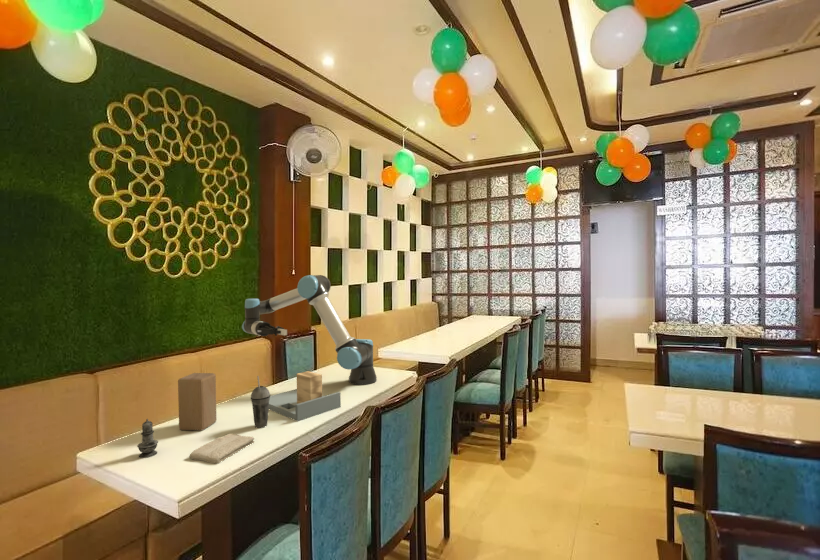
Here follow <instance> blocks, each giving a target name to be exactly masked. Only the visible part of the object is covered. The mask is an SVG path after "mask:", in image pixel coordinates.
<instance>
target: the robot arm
mask: <svg viewBox="0 0 820 560" xmlns="http://www.w3.org/2000/svg"><path fill="white" fill-rule="evenodd" d="M331 287H332V285H331V281H330V279H329V278H328V277H327V276H325V275H322V274H315V275H313V274H308V275H305V276H303V277H301V278H299V281H298V283H297V287H296V288H294V289H291V290H289V291H286V292H284V293H280V294H278V295H276V296H274V297H270V298H268V299H266V300H260V299H259V298H246V299H245V300H244V321H243V323H242V325H241V329H242V331H243V332H245V333H247V334H250V335H251V334H252V335H256V336H258V337H260V336H261V337H266V336H268V335H274V336H278V335H279V336H288V329H285V328H284V327H282V326H281V325H277V326H276V327H275V326H274V325H271V324H270V323H269V322H266V321H261V320H260V319H261V318H260V317H261V316H260V315H265V314H272V313H273V312H274V313H275V311H277V310H280V309H283V308H285V307H288V306H291V305H294V304H297V303H299V302H302V301H304V300H306V301H307V302H308V304H309V305H311V306H313V308H314V309H315V311H316V312H317V314H318V316H319V318H320V319H321V321H322V323H323V325H324V326H325V328H326V330H327V332H328V333H329V335H330V337H331V339H332V340H333V342H334V344H335V348H334V350H335V352H336V353H337V354H336V362H337V363H338V365H339V366H340V367H341V368H342V369H345V370H350V373H349V377H348V383H350V384H353V385H358V386H359V385H360V386H361V385H363V386H364V385H370V384H375V383H376V382H377V380H378V379H377V375H376V374H377V373H376V372H375V368H374V342H373V340H372V339H369V338H368V339H367V338H366V339H365V338H356V337H353V336H351V335H350V333H349V331H348V330H347V328H346V326H345V324H344V322H343V321H342V319H341V317H340V316H339V313H338V312H337V311H336V309H335V307H334V306H333V303H332V302H331V300H330V298H329V295H330V290H331Z"/></svg>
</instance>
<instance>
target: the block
mask: <svg viewBox="0 0 820 560" xmlns="http://www.w3.org/2000/svg"><path fill="white" fill-rule="evenodd" d="M216 380H217V377H216V373H213V372H212V373H211V372H194V373H193V372H192V373H191V374H188V375H185V376H183V377H181V378H178V381H177V390H178V393H177V395H178V396H177V397H178V398H177V399H178V428H179V430H180V431H204V430H205V429H207V428H208V427H210V426H212V425H214V424H215V423H216V422H217V418H218V417H217V386H216V385H217V384H216V382H217V381H216Z"/></svg>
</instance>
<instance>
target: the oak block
mask: <svg viewBox="0 0 820 560" xmlns="http://www.w3.org/2000/svg"><path fill="white" fill-rule="evenodd" d="M296 389H297V403H298V404H299V403H302V402H306V401H309V400H313V399H316V398H319V397H322V396H323V374H321V373H317V372H313V371H307V370H306V371H303V372H299V373H296Z"/></svg>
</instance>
